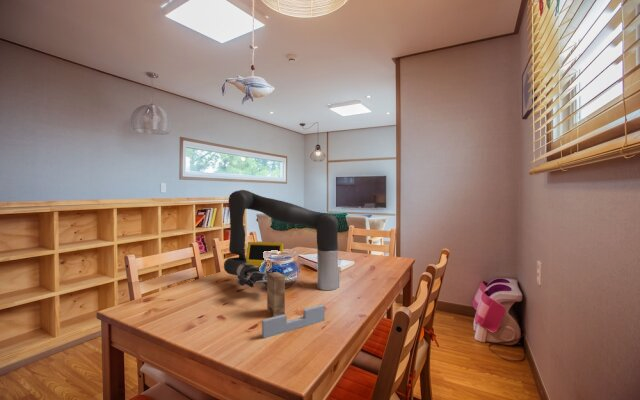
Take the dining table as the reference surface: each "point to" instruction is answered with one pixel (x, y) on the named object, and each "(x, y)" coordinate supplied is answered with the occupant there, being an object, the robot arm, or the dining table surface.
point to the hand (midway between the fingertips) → (263, 282)
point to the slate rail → (292, 321)
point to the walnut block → (276, 293)
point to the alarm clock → (260, 251)
